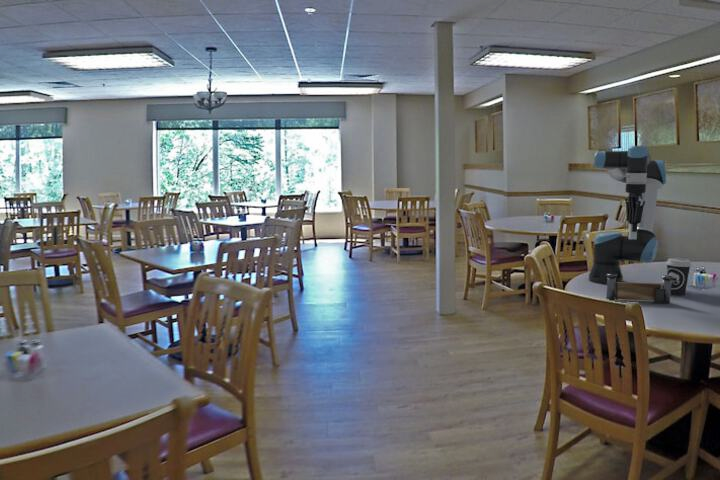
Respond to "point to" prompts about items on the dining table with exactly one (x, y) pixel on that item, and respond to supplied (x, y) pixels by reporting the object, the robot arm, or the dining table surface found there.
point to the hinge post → (611, 286)
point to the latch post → (663, 291)
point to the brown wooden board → (636, 291)
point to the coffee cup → (678, 275)
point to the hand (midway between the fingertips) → (632, 239)
